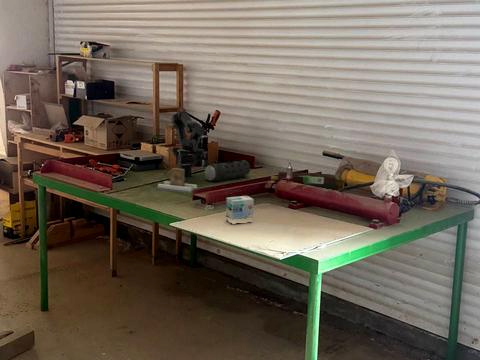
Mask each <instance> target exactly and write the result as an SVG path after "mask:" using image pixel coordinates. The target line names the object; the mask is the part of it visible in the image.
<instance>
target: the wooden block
mask: <svg viewBox="0 0 480 360" xmlns="http://www.w3.org/2000/svg"><path fill="white" fill-rule="evenodd" d="M179 168H180V167H179ZM179 168H177V167H173V168H170V177H169V178H170V180H169V182H170V185H174V186H182V187H184V184H185V177H184V169H179Z"/></svg>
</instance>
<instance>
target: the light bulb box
mask: <svg viewBox="0 0 480 360" xmlns="http://www.w3.org/2000/svg"><path fill="white" fill-rule="evenodd" d="M225 202H226V204H225V205H226V207H225V218H226V217H228V218H230V219H232V220H234V219H246V218H253V219H254V202H255V200H254V198H252V197H250V196H249V195H241V196H231V197H226V201H225Z"/></svg>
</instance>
